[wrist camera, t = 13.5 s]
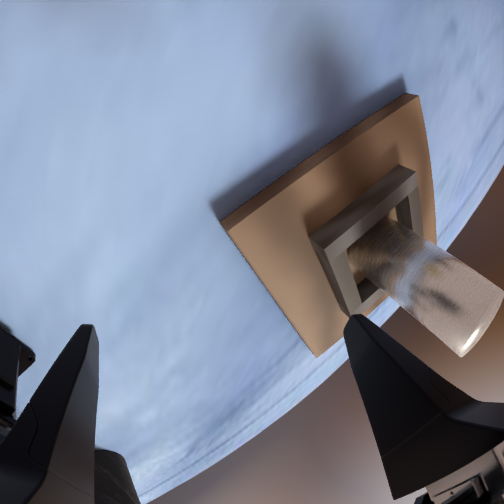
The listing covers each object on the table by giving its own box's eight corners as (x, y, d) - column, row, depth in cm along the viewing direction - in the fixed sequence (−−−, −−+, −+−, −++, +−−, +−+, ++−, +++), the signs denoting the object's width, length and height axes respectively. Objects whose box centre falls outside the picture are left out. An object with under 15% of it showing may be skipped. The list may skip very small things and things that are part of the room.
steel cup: (371, 272, 29) (470, 353, 19) (336, 263, 26) (451, 361, 16) (398, 222, 28) (507, 293, 18) (367, 205, 25) (498, 287, 15)
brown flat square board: (309, 349, 34) (326, 370, 31) (219, 222, 21) (240, 245, 18) (427, 242, 35) (448, 255, 33) (405, 93, 23) (437, 99, 20)
